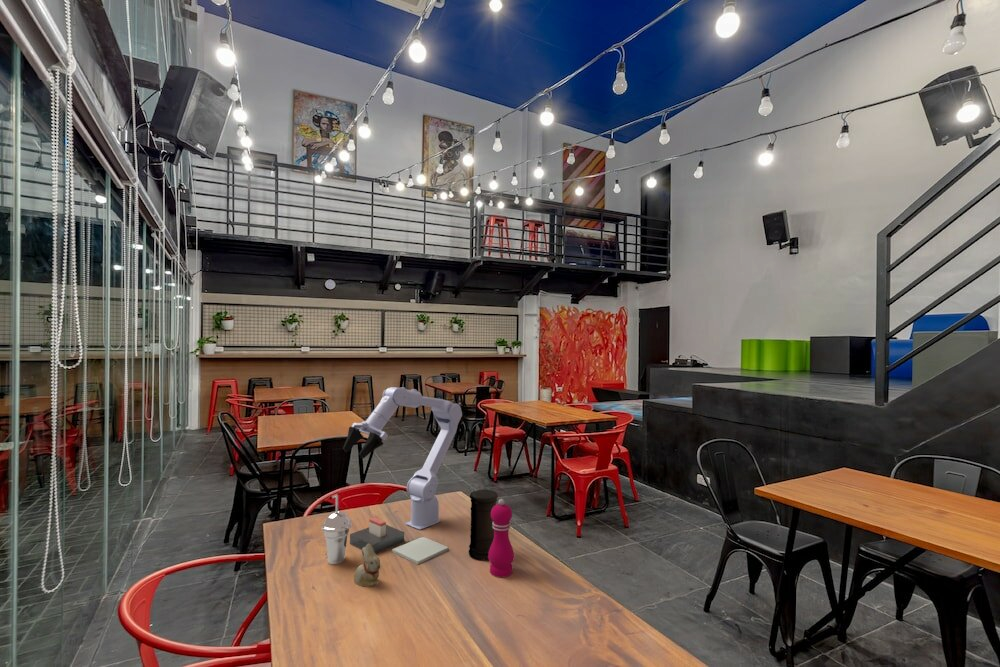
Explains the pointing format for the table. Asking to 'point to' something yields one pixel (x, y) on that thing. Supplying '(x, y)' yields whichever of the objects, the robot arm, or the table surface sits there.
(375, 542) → the grey plate with slot
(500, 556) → the pepper mill
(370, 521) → the pink topped brick
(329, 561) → the cup with straw
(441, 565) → the table surface
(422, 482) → the robot arm
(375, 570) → the chocolate bunny
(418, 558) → the pad
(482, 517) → the container
